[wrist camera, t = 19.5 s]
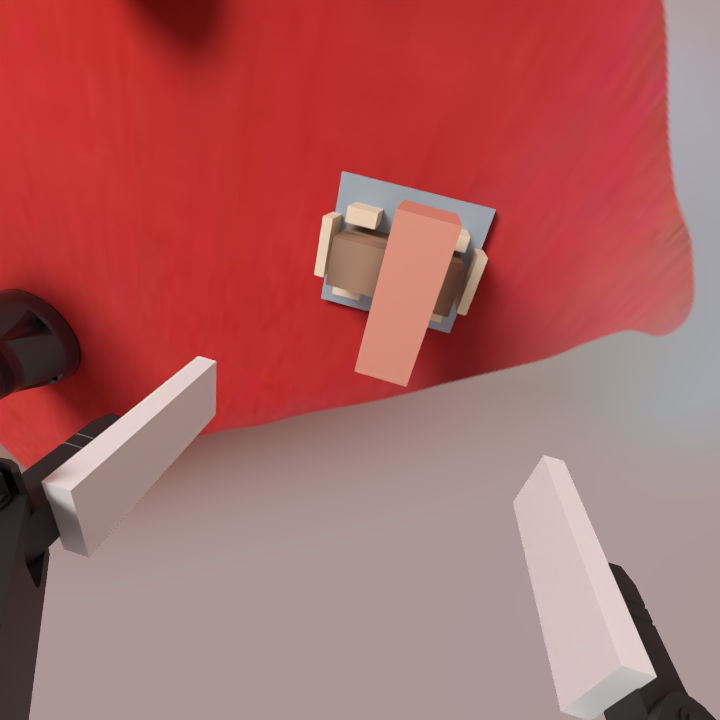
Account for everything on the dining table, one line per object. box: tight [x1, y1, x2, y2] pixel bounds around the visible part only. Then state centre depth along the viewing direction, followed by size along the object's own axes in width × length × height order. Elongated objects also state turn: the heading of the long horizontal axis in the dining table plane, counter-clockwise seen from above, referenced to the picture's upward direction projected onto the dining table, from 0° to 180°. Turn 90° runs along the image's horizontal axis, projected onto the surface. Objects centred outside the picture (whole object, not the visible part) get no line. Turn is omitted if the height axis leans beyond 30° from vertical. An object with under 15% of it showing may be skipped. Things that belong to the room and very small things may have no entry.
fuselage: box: [326, 224, 465, 317], centre depth 37 cm, size 12×4×8 cm, turn 78°
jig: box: [314, 171, 496, 333], centre depth 39 cm, size 16×14×5 cm
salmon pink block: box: [355, 200, 463, 386], centre depth 30 cm, size 4×13×7 cm, turn 167°
